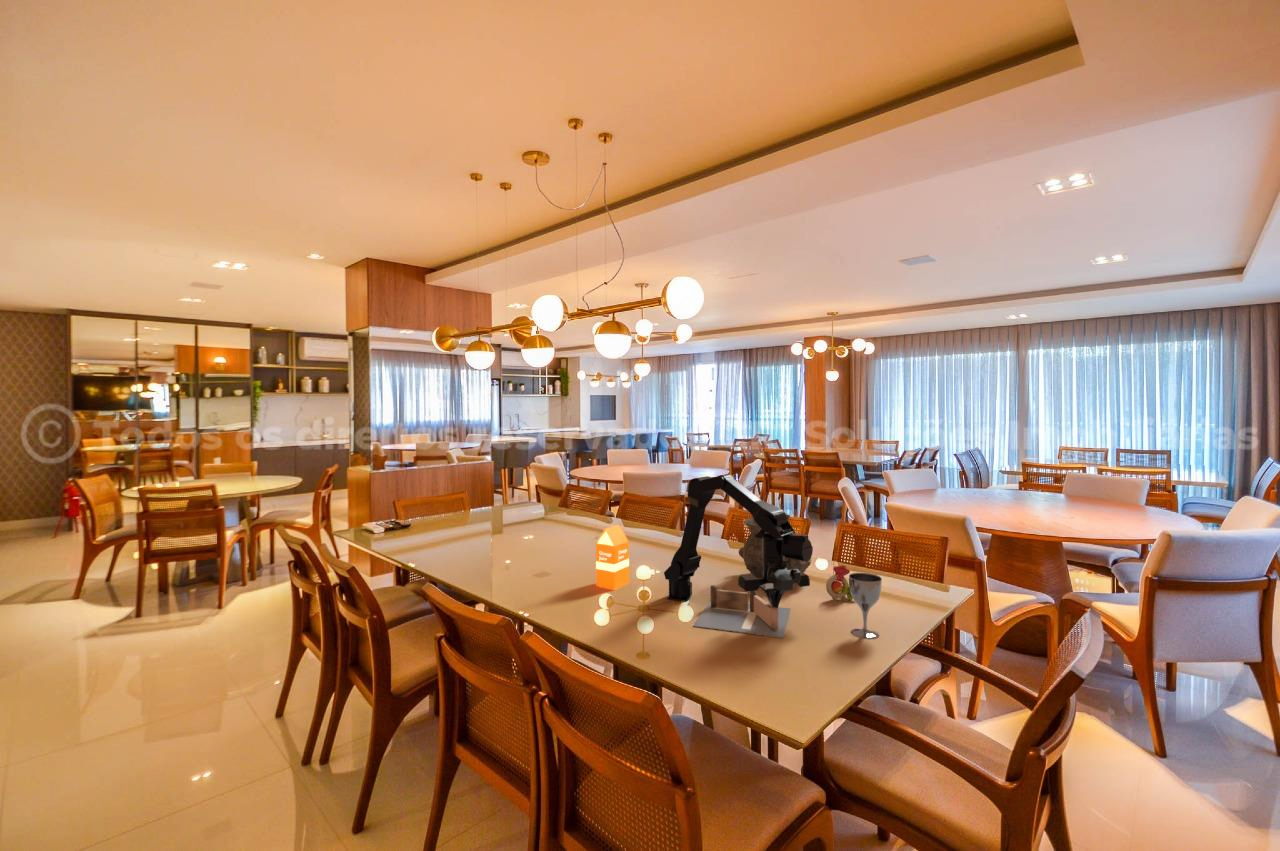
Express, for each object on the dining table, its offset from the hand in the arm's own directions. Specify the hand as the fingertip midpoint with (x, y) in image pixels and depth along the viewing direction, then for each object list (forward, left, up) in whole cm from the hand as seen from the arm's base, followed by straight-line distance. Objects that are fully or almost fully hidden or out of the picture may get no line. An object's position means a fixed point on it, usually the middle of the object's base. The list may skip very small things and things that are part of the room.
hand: (774, 611), depth 153 cm
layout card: (-9, +3, -4) cm, 10 cm away
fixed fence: (-13, +8, -4) cm, 15 cm away
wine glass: (+23, +2, -4) cm, 23 cm away
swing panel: (-2, +1, -3) cm, 4 cm away
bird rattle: (+17, +28, -4) cm, 33 cm away
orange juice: (-56, +19, -4) cm, 59 cm away
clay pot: (-5, +42, -4) cm, 42 cm away
